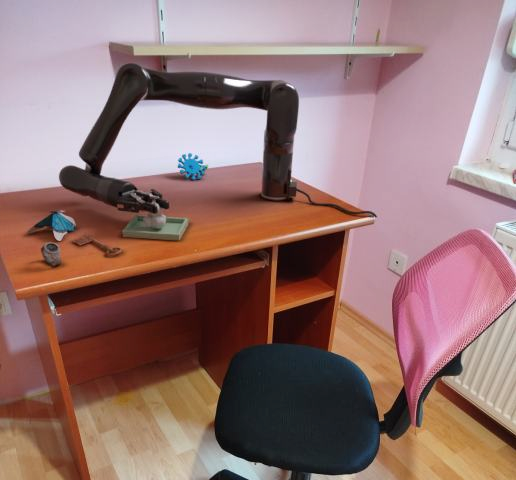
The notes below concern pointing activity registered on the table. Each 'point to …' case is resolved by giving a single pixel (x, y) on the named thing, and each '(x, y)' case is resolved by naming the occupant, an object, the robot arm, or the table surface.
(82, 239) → the key
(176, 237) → the tray
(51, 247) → the grey round container
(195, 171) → the blue virus model
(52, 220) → the decorative butterfly
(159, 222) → the white plastic figurine
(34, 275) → the table surface
